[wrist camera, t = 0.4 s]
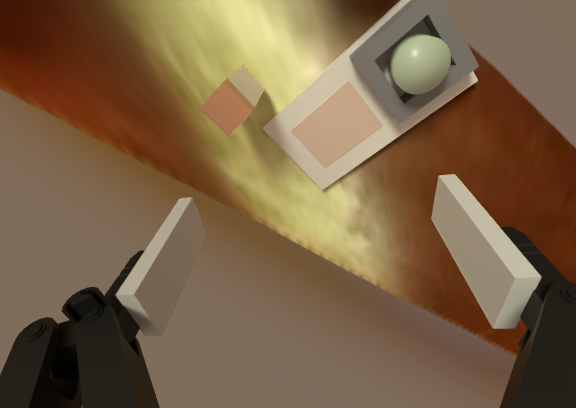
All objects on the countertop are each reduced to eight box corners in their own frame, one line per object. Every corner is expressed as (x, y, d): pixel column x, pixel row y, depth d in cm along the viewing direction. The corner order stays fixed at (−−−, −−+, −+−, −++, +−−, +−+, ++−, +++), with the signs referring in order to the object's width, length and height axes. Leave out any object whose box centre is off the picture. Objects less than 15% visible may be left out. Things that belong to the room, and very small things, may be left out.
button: (378, 59, 30) (384, 64, 28) (423, 21, 28) (434, 22, 25) (403, 97, 32) (411, 104, 29) (447, 63, 30) (460, 68, 27)
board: (263, 126, 38) (259, 136, 35) (420, -19, 28) (433, -22, 25) (322, 186, 42) (322, 199, 39) (473, 78, 33) (489, 85, 30)
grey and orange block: (225, 84, 35) (199, 108, 27) (244, 62, 34) (223, 81, 25) (246, 105, 36) (228, 136, 28) (266, 86, 35) (252, 112, 27)
